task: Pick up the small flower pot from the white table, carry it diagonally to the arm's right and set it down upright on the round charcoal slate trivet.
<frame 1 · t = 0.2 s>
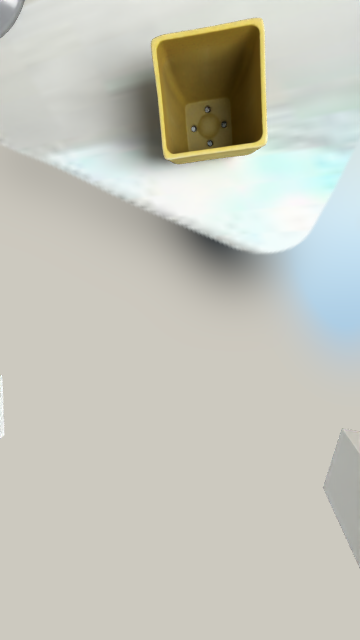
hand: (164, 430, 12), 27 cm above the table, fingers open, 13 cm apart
flower pot: (209, 129, 34), on the table
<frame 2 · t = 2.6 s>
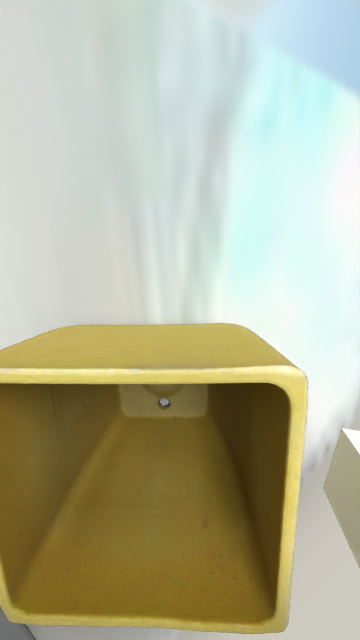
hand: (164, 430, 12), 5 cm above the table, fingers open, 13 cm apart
flower pot: (166, 371, 17), on the table
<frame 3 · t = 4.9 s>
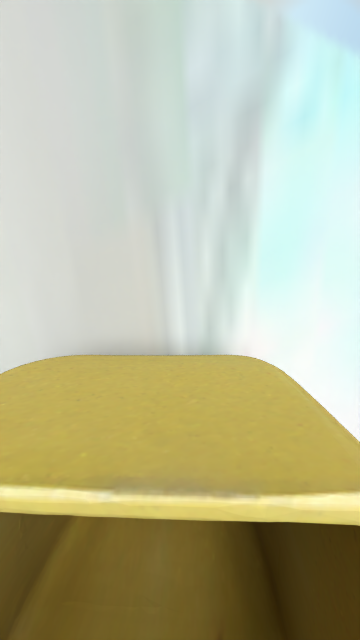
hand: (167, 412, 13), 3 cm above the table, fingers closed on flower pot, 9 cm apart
flower pot: (169, 406, 14), point 2 cm above the table, touching gripper
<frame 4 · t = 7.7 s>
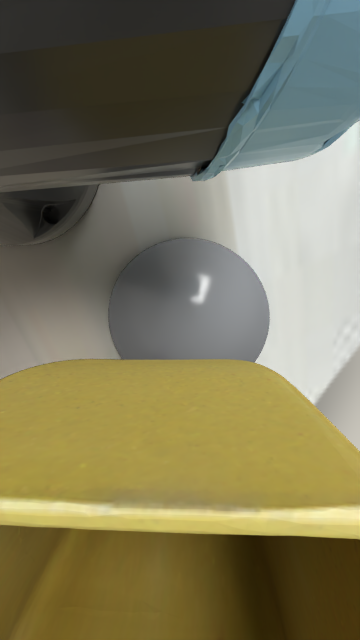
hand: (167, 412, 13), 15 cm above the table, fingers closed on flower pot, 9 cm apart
flower pot: (169, 409, 14), point 15 cm above the table, touching gripper
trivet: (187, 318, 28), on the table
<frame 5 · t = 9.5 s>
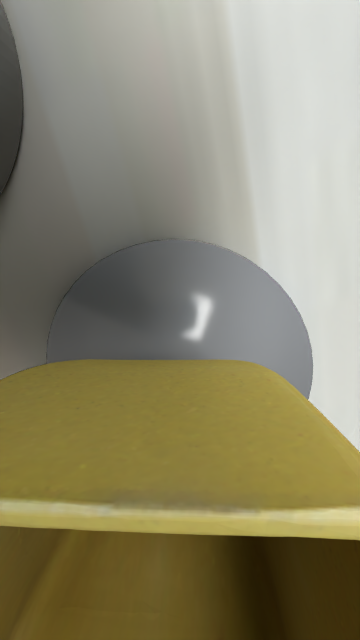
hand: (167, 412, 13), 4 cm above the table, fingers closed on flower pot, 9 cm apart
flower pot: (169, 410, 14), point 4 cm above the table, touching gripper
trivet: (176, 370, 17), on the table
when the fingers open (3 cm above the table, at t = 10.8 s): flower pot drops 2 cm, resting on trivet.
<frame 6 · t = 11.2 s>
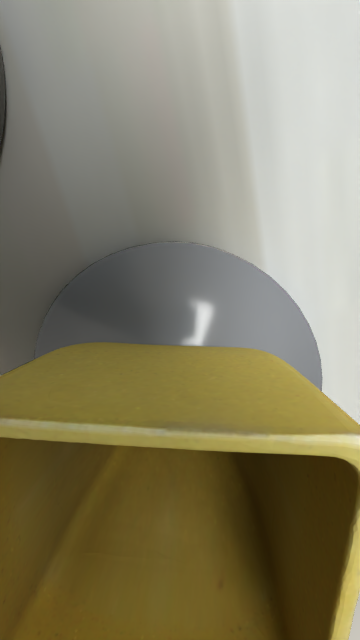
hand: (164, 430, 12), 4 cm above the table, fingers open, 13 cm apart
flower pot: (178, 392, 15), point 1 cm above the table, touching trivet
trivet: (174, 382, 16), on the table
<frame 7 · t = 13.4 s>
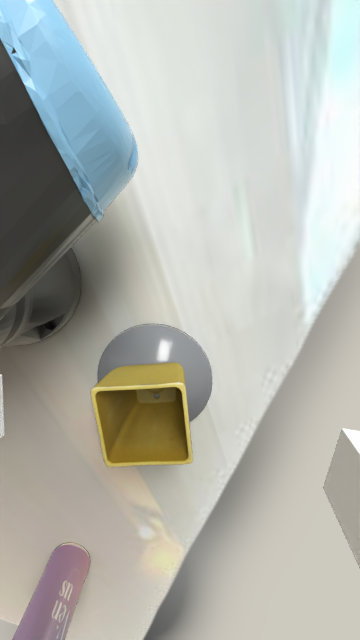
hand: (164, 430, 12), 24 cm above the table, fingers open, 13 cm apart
flower pot: (156, 381, 38), point 1 cm above the table, touching trivet
beverage can: (73, 554, 48), on the table
trivet: (155, 377, 38), on the table
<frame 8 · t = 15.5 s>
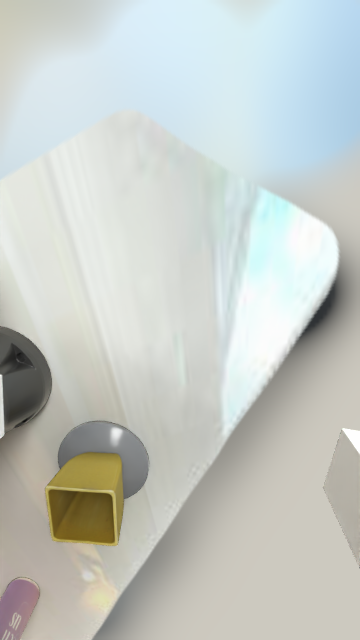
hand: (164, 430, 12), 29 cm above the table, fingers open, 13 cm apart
flower pot: (105, 464, 47), point 1 cm above the table, touching trivet
beverage can: (26, 586, 57), on the table
trivet: (104, 460, 48), on the table
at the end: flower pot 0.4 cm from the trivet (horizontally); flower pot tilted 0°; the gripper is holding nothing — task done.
